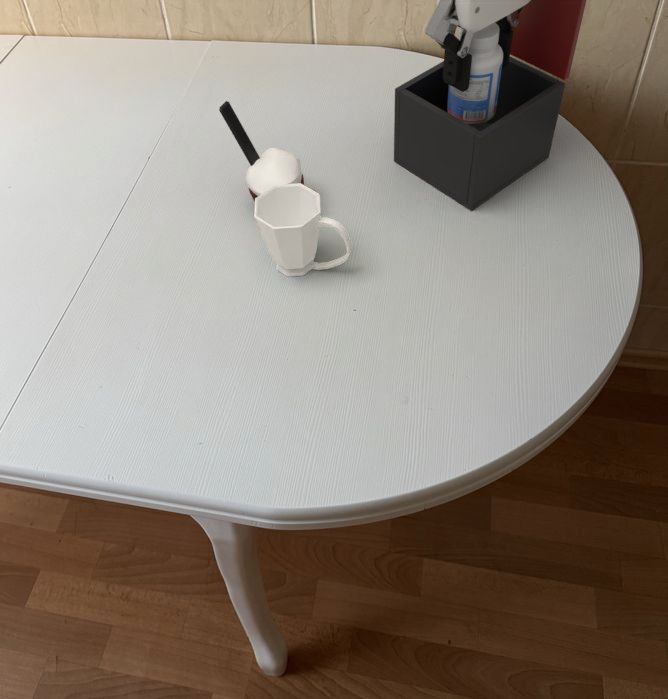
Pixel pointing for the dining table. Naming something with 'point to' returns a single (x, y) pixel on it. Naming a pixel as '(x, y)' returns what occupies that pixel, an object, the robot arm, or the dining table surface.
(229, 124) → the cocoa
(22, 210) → the dining table surface
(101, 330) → the dining table surface
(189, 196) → the dining table surface
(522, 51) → the bin lid
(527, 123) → the dark open-top bin
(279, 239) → the cup
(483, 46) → the pill bottle
